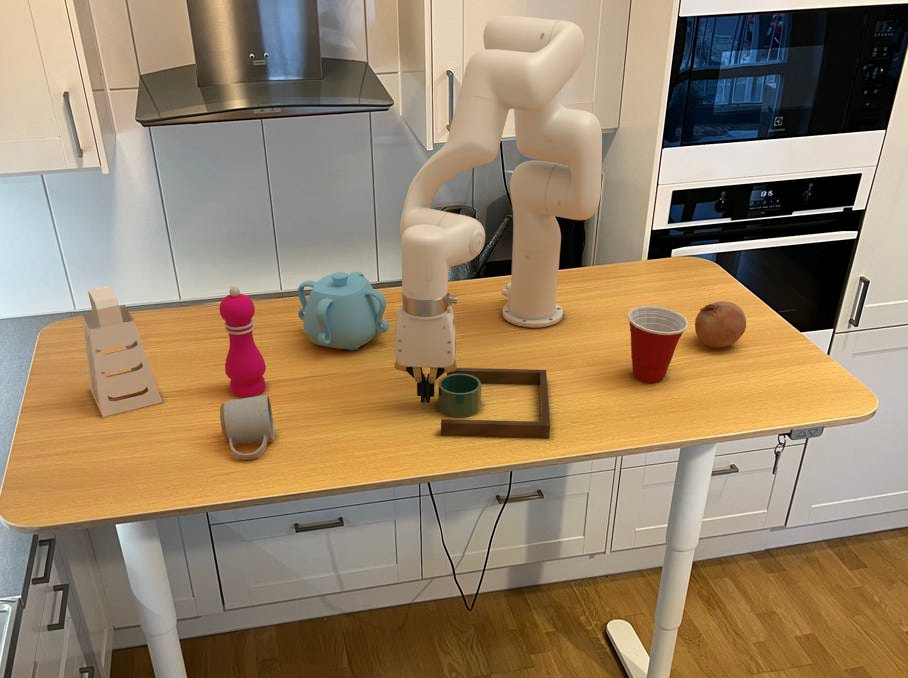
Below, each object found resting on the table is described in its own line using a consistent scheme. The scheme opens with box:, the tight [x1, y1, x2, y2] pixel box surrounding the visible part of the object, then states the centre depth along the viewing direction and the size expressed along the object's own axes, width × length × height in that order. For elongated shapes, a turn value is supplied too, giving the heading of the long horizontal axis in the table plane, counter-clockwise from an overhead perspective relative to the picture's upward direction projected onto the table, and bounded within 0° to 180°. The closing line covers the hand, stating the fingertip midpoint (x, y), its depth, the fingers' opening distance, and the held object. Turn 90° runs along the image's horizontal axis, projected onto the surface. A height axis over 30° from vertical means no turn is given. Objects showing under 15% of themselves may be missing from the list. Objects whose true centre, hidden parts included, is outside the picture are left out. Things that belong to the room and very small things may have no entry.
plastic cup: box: [627, 305, 689, 384], centre depth 168 cm, size 11×11×12 cm
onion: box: [694, 301, 747, 349], centre depth 180 cm, size 10×9×10 cm
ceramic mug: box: [219, 394, 275, 461], centre depth 152 cm, size 11×8×8 cm
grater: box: [81, 285, 163, 418], centre depth 162 cm, size 10×10×20 cm
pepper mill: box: [219, 286, 267, 398], centre depth 164 cm, size 7×7×20 cm
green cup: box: [438, 374, 482, 418], centre depth 162 cm, size 7×7×5 cm
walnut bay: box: [440, 367, 551, 439], centre depth 163 cm, size 18×19×2 cm
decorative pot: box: [297, 271, 390, 351], centre depth 182 cm, size 16×16×14 cm
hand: (425, 399), depth 163 cm, fingers closed
